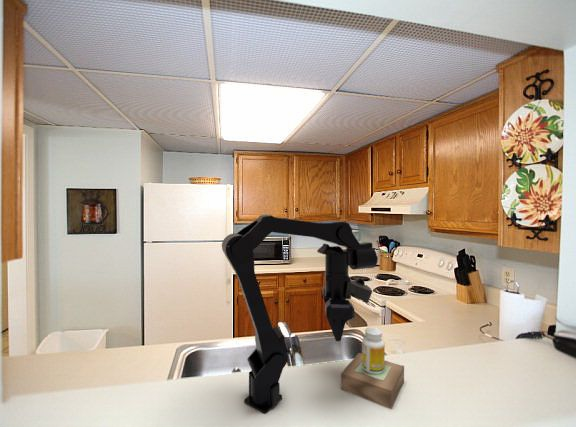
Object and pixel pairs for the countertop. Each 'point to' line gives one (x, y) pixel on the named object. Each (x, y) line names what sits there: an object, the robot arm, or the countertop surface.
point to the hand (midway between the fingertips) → (336, 332)
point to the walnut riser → (373, 382)
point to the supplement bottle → (373, 351)
